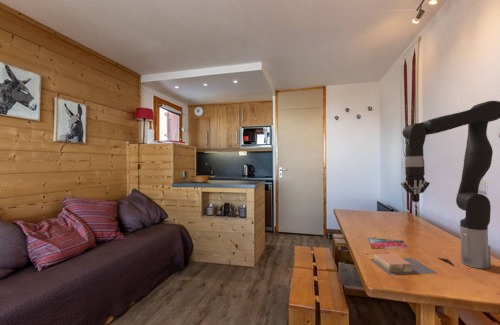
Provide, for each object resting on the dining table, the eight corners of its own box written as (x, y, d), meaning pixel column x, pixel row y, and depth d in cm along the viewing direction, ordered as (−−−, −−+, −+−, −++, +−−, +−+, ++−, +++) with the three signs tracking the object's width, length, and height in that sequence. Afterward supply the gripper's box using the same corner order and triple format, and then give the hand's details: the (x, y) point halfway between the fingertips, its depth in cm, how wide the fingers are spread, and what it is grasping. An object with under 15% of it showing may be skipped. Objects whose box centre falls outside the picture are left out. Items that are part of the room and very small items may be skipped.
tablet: (403, 241, 143) (402, 240, 143) (415, 257, 119) (415, 255, 119) (367, 238, 150) (367, 237, 150) (372, 252, 126) (372, 251, 126)
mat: (411, 259, 115) (411, 257, 115) (438, 275, 99) (438, 273, 99) (369, 261, 115) (369, 259, 115) (388, 276, 99) (388, 274, 99)
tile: (394, 253, 113) (373, 254, 113) (412, 264, 101) (389, 264, 101) (394, 260, 113) (374, 260, 113) (412, 271, 101) (389, 272, 101)
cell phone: (412, 256, 120) (412, 254, 120) (448, 261, 114) (448, 259, 114) (415, 262, 113) (415, 260, 113) (454, 267, 107) (454, 265, 107)
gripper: (422, 165, 116) (423, 200, 116) (396, 166, 116) (396, 201, 116) (434, 165, 109) (435, 202, 109) (406, 166, 109) (407, 203, 108)
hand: (415, 201), depth 112 cm, fingers closed
